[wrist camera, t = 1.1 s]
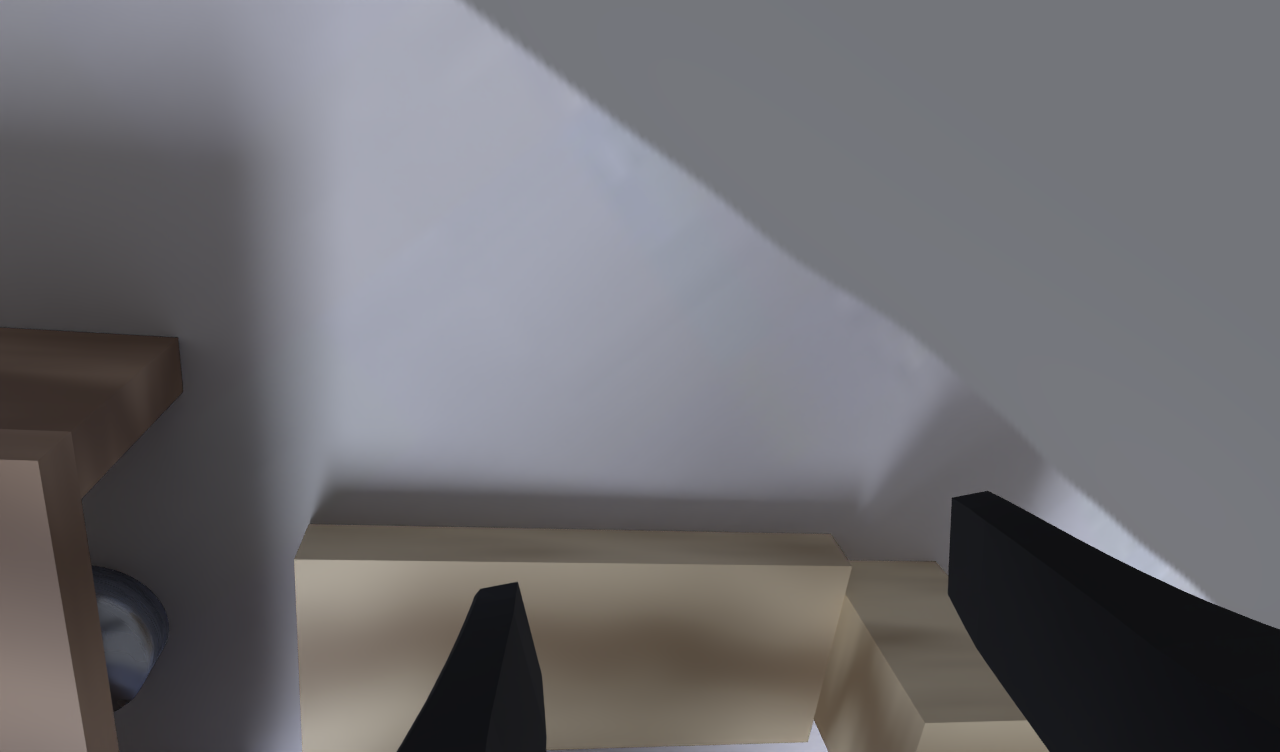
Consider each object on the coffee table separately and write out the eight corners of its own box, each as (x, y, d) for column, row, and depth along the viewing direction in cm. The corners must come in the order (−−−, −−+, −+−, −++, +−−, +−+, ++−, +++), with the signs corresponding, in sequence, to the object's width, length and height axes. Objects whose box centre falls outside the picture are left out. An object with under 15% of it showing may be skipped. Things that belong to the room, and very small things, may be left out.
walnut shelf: (225, 843, 27) (142, 1076, 21) (7, 853, 26) (-149, 1104, 20) (178, 337, 21) (37, 460, 14) (-116, 320, 19) (-405, 447, 13)
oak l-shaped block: (894, 700, 29) (1002, 882, 23) (315, 711, 26) (251, 932, 19) (942, 535, 27) (1079, 688, 20) (309, 523, 23) (232, 704, 17)
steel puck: (177, 673, 25) (152, 718, 23) (29, 675, 24) (-6, 721, 22) (164, 562, 23) (138, 602, 21) (7, 561, 22) (-32, 601, 21)
